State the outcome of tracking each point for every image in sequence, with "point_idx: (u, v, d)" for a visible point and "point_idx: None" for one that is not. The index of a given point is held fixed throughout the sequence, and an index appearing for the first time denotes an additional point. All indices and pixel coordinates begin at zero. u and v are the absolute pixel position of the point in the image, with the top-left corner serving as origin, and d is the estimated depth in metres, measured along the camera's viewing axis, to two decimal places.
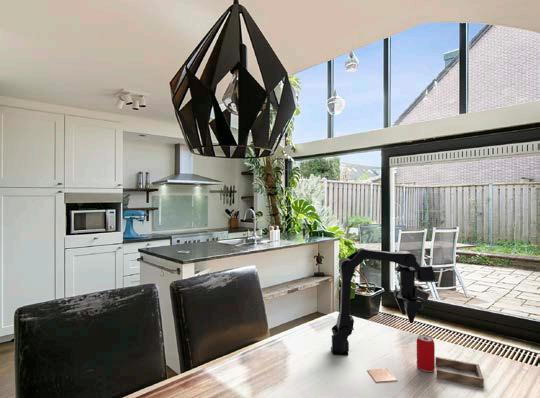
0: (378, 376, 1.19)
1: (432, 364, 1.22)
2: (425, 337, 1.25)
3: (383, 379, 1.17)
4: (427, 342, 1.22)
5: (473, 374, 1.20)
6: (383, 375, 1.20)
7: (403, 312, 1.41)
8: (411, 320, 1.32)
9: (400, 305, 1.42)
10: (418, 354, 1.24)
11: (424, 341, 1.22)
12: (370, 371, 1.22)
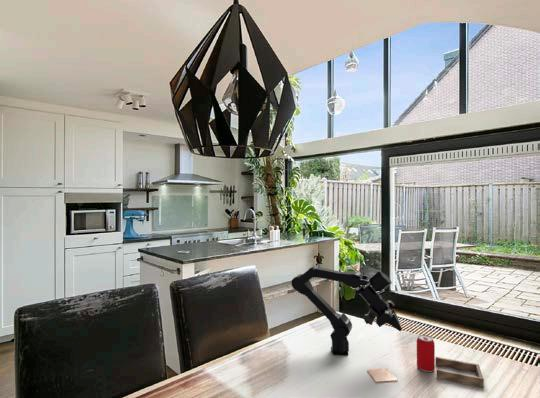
0: (378, 376, 1.19)
1: (432, 364, 1.22)
2: (425, 337, 1.25)
3: (383, 379, 1.17)
4: (427, 342, 1.22)
5: (473, 374, 1.20)
6: (383, 375, 1.20)
7: None
8: None
9: None
10: (418, 354, 1.24)
11: (424, 341, 1.22)
12: (370, 371, 1.22)
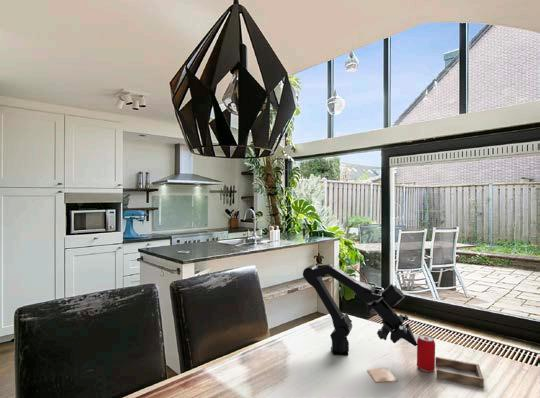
0: (378, 376, 1.19)
1: (432, 364, 1.22)
2: (426, 337, 1.25)
3: (383, 379, 1.17)
4: (428, 342, 1.22)
5: (473, 374, 1.20)
6: (383, 375, 1.20)
7: None
8: None
9: None
10: (418, 354, 1.24)
11: (425, 341, 1.22)
12: (370, 371, 1.22)
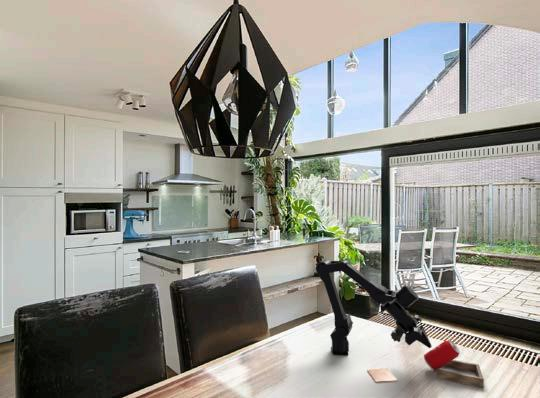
0: (378, 376, 1.19)
1: (440, 366, 1.21)
2: (454, 346, 1.21)
3: (383, 379, 1.17)
4: (455, 351, 1.18)
5: (473, 374, 1.20)
6: (383, 375, 1.20)
7: None
8: None
9: None
10: (436, 351, 1.22)
11: (453, 349, 1.18)
12: (370, 371, 1.22)
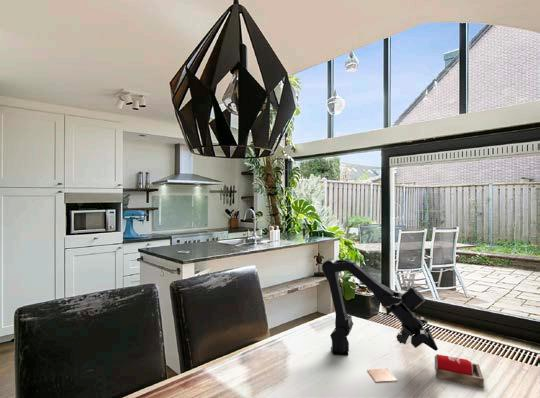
0: (378, 376, 1.19)
1: None
2: None
3: (383, 379, 1.17)
4: None
5: (473, 374, 1.20)
6: (383, 375, 1.20)
7: None
8: None
9: None
10: (453, 364, 1.18)
11: (471, 374, 1.15)
12: (370, 371, 1.22)
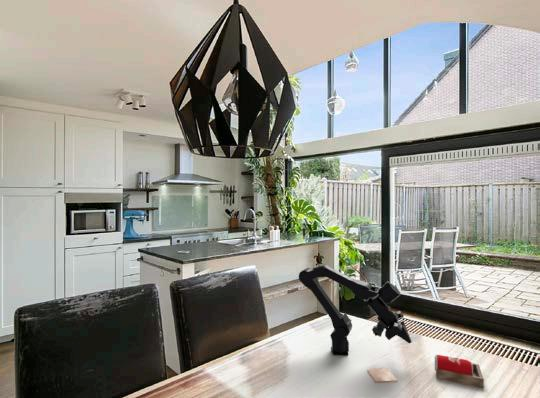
0: (378, 376, 1.19)
1: None
2: None
3: (383, 379, 1.17)
4: None
5: (473, 374, 1.20)
6: (383, 375, 1.20)
7: None
8: None
9: None
10: (453, 365, 1.17)
11: None
12: (370, 371, 1.22)
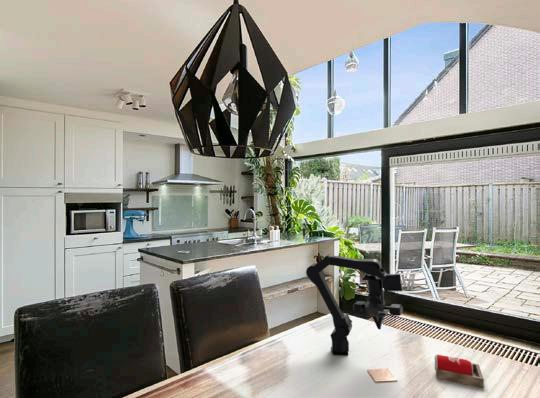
0: (378, 376, 1.19)
1: None
2: None
3: (383, 379, 1.17)
4: None
5: (473, 374, 1.20)
6: (383, 375, 1.20)
7: None
8: None
9: None
10: (453, 365, 1.17)
11: None
12: (370, 371, 1.22)
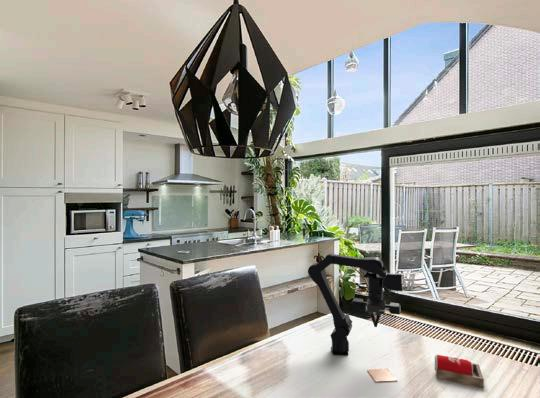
0: (378, 376, 1.19)
1: None
2: None
3: (383, 379, 1.17)
4: None
5: (473, 374, 1.20)
6: (383, 375, 1.20)
7: None
8: None
9: (376, 316, 1.34)
10: (453, 366, 1.17)
11: None
12: (370, 371, 1.22)
